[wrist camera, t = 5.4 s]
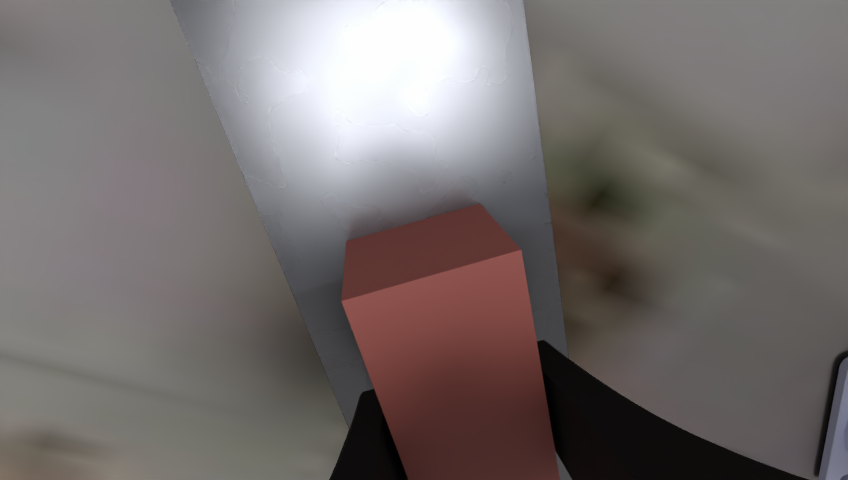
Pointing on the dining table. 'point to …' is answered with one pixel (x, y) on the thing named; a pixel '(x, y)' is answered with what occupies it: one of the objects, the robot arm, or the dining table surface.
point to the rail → (377, 138)
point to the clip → (452, 347)
